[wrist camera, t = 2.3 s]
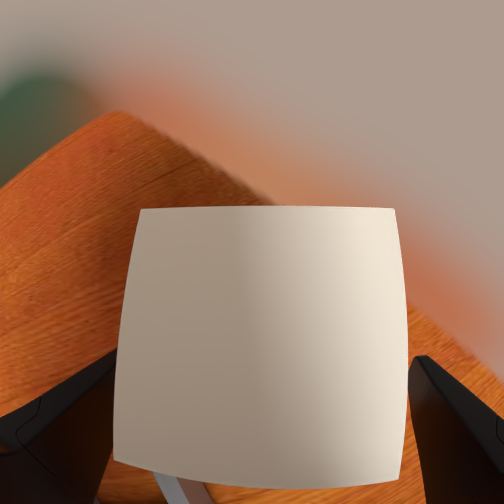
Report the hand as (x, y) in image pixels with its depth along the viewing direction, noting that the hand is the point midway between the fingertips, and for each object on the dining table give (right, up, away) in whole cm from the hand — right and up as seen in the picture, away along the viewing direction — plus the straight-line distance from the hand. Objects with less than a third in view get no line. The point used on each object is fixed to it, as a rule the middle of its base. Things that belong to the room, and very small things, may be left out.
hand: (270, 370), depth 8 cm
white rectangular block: (+1, -3, +8) cm, 8 cm away
